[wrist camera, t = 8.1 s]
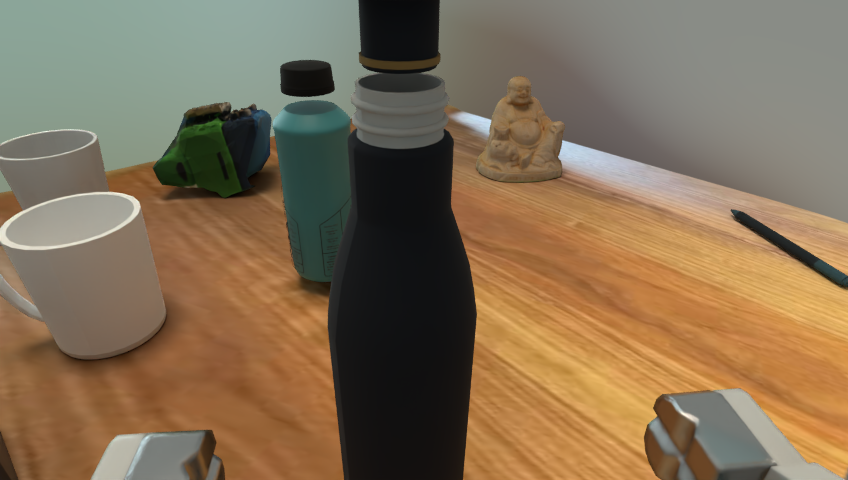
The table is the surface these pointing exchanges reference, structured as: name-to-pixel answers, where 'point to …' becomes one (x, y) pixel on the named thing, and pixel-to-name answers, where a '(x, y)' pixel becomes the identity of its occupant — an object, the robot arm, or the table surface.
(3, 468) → the book rack
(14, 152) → the cup
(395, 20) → the wine bottle
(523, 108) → the statue
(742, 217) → the pen
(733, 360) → the table surface
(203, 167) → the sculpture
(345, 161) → the beverage bottle
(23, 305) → the mug
